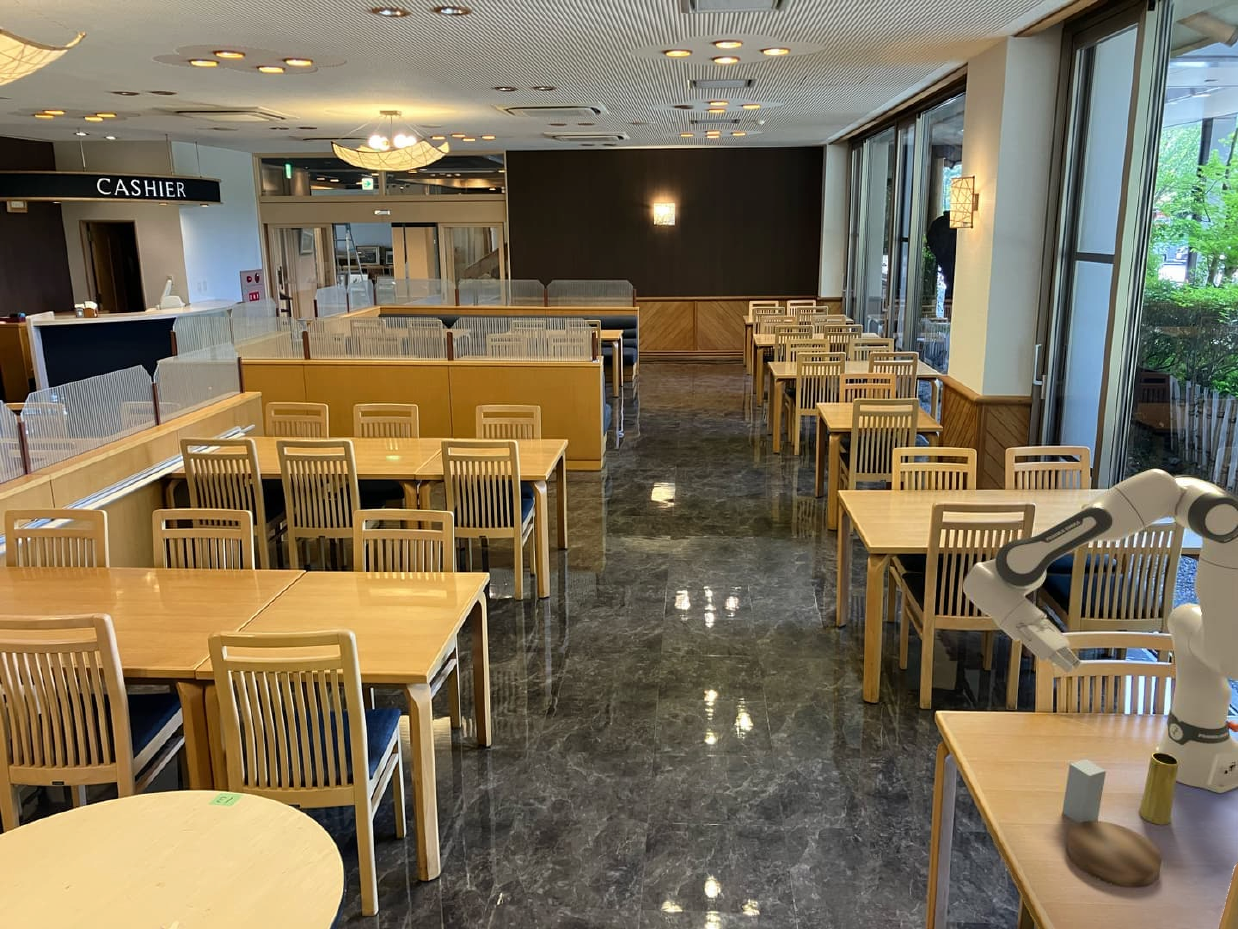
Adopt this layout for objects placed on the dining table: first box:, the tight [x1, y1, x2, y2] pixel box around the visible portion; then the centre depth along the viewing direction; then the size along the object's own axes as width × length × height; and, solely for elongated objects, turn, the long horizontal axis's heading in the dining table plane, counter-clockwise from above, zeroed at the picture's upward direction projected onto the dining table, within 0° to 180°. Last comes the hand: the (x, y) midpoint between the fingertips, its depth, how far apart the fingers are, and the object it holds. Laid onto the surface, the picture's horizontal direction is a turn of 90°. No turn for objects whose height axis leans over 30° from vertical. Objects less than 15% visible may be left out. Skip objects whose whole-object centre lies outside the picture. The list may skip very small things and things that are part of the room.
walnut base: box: [1065, 820, 1163, 888], centre depth 198 cm, size 17×17×3 cm
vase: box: [1138, 751, 1179, 826], centre depth 211 cm, size 6×6×14 cm
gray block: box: [1061, 758, 1107, 824], centre depth 211 cm, size 5×5×12 cm
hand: (1075, 668), depth 212 cm, fingers open, 8 cm apart
